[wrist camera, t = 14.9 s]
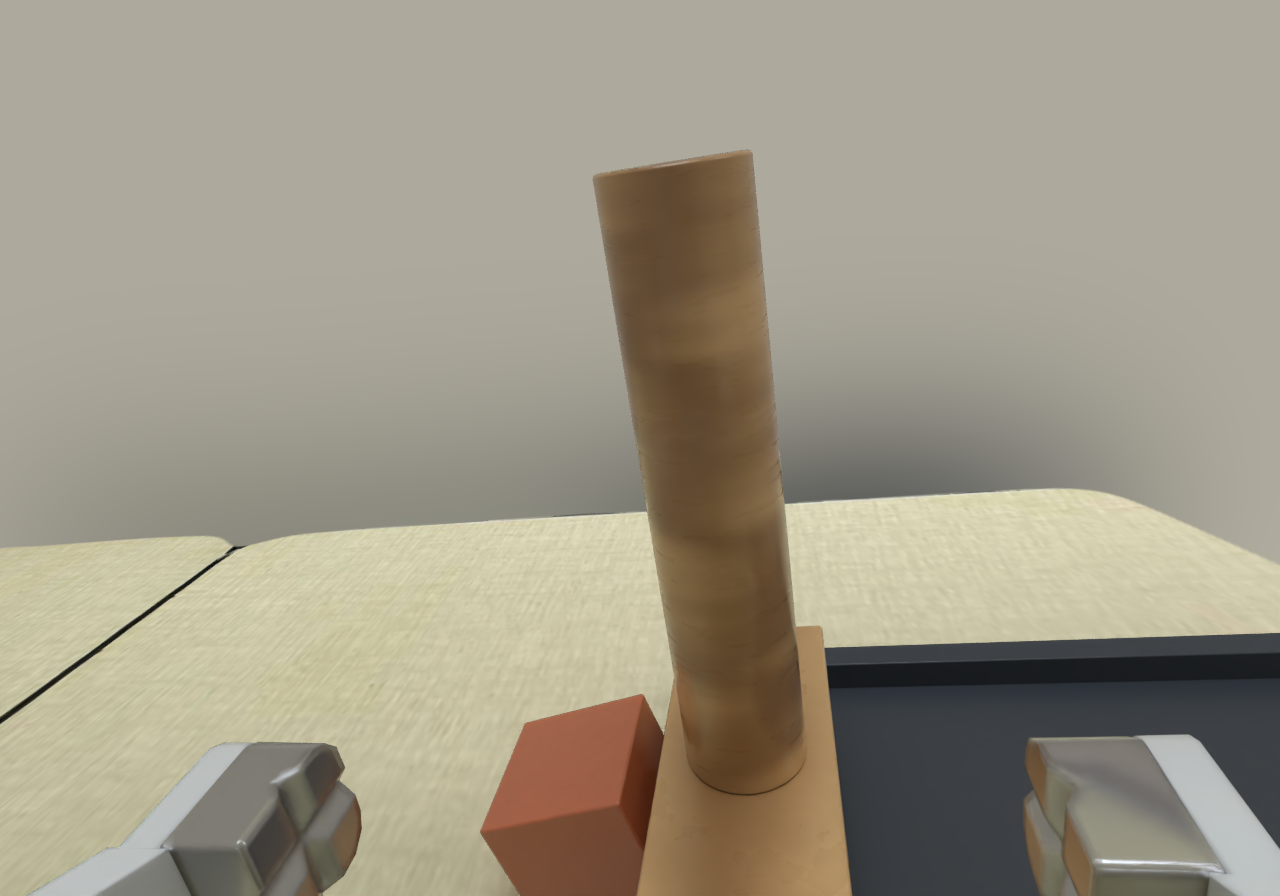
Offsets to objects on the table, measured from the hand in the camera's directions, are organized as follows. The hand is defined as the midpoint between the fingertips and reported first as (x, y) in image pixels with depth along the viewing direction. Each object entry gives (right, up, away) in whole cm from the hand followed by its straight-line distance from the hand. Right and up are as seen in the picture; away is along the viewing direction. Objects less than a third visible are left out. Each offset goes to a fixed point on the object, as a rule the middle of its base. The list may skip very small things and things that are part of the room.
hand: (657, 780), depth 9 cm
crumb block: (-1, -8, +13) cm, 15 cm away
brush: (+3, -7, +12) cm, 14 cm away
